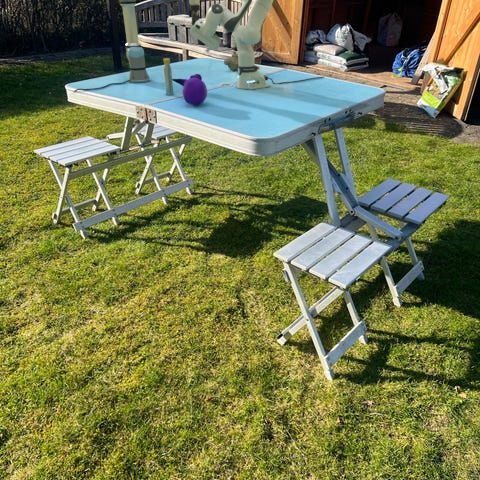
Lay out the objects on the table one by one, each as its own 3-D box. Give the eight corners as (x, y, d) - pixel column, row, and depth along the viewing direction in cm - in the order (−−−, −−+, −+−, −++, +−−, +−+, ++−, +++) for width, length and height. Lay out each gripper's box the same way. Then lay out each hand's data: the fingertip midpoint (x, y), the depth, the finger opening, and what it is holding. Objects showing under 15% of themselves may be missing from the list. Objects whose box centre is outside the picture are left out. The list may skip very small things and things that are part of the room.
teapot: (227, 73, 361) (227, 53, 353) (221, 70, 369) (220, 51, 362) (250, 70, 370) (250, 50, 362) (243, 68, 378) (242, 49, 371)
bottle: (174, 93, 300) (171, 59, 289) (172, 95, 296) (169, 60, 285) (167, 93, 301) (164, 58, 290) (165, 95, 297) (161, 60, 286)
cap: (171, 62, 290) (170, 58, 289) (169, 63, 287) (168, 59, 285) (164, 62, 291) (164, 58, 290) (162, 63, 287) (162, 59, 286)
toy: (196, 96, 291) (207, 111, 270) (169, 91, 283) (179, 106, 263) (201, 71, 283) (213, 84, 262) (173, 66, 275) (184, 79, 255)
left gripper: (203, 5, 329) (204, 36, 339) (195, 3, 349) (197, 33, 360) (193, 5, 327) (195, 37, 338) (186, 4, 347) (188, 34, 358)
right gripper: (224, 37, 279) (216, 54, 290) (197, 17, 277) (190, 35, 288) (220, 42, 276) (212, 59, 287) (192, 21, 273) (185, 39, 285)
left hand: (196, 35), depth 349 cm, fingers open, 13 cm apart
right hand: (201, 46), depth 287 cm, fingers open, 8 cm apart
